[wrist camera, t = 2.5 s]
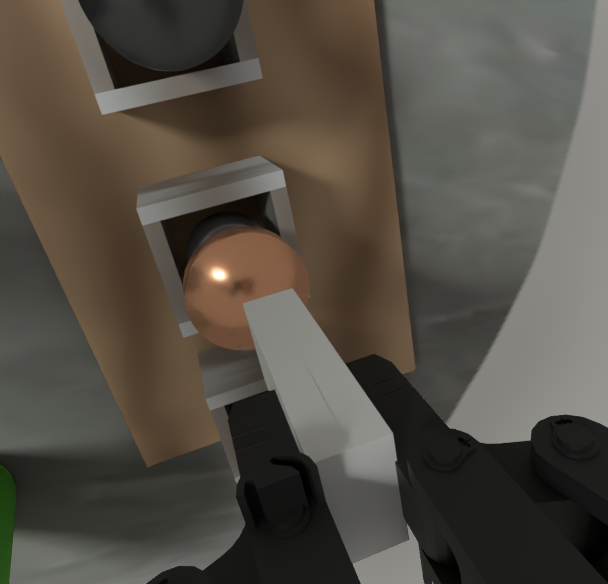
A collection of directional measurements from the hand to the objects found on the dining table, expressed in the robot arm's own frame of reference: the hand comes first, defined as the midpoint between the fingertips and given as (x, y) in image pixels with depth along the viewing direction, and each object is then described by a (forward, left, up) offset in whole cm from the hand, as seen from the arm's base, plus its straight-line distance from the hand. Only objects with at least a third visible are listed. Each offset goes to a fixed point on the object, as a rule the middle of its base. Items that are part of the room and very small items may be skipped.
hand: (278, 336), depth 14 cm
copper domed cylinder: (0, 0, -8) cm, 8 cm away
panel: (+1, 0, -13) cm, 13 cm away
